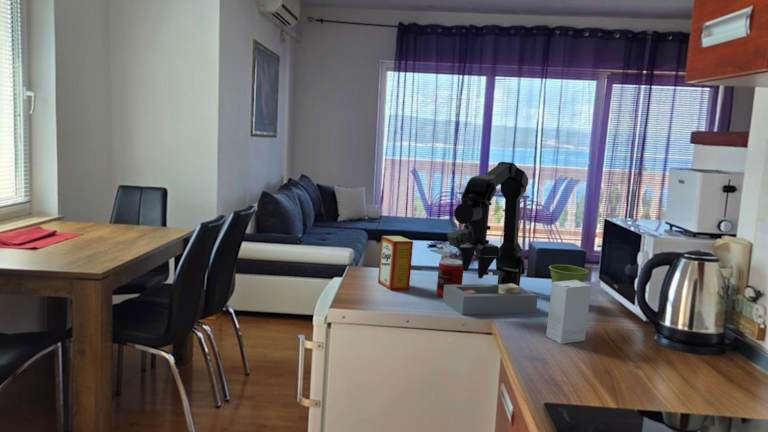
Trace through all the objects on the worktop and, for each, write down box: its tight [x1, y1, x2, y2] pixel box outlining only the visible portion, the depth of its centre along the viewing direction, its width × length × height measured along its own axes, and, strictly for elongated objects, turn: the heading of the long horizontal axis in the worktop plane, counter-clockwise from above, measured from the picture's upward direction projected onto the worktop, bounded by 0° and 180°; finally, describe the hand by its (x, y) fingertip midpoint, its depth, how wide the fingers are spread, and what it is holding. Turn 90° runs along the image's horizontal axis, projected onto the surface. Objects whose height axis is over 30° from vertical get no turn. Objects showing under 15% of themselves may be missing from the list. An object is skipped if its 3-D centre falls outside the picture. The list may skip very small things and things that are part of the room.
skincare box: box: [545, 280, 593, 345], centre depth 154 cm, size 8×6×15 cm
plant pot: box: [548, 264, 589, 283], centre depth 191 cm, size 12×12×11 cm
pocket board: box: [442, 283, 539, 315], centre depth 180 cm, size 24×13×5 cm, turn 109°
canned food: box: [436, 258, 464, 299], centre depth 189 cm, size 8×8×11 cm
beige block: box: [499, 283, 520, 295], centre depth 181 cm, size 5×4×3 cm
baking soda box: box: [377, 235, 414, 291], centre depth 195 cm, size 10×6×16 cm
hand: (472, 274), depth 177 cm, fingers open, 9 cm apart
